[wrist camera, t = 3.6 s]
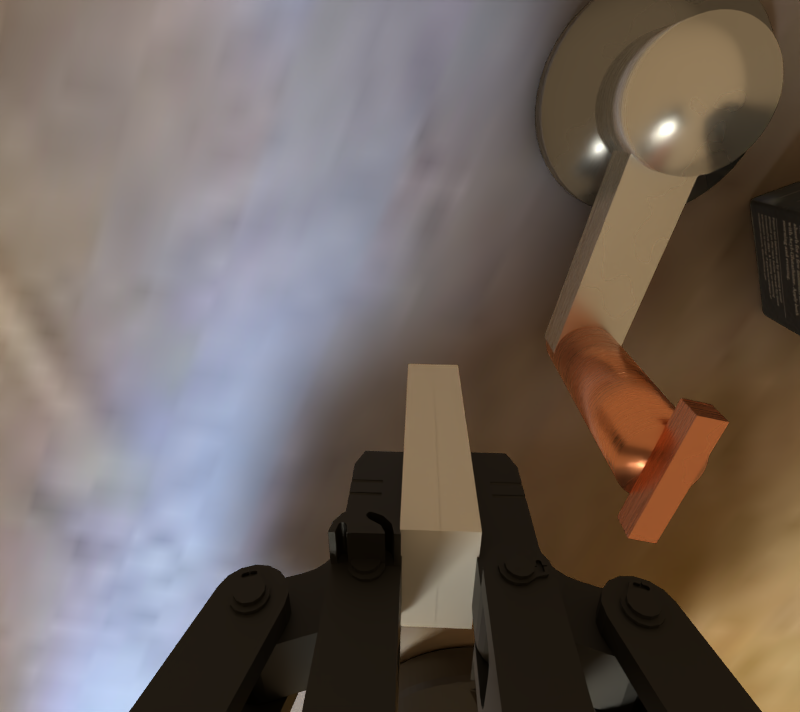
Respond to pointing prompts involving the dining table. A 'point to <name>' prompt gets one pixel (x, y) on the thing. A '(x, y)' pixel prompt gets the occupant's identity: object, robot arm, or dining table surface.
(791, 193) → the box
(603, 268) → the crank
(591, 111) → the crank base
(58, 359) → the dining table surface
